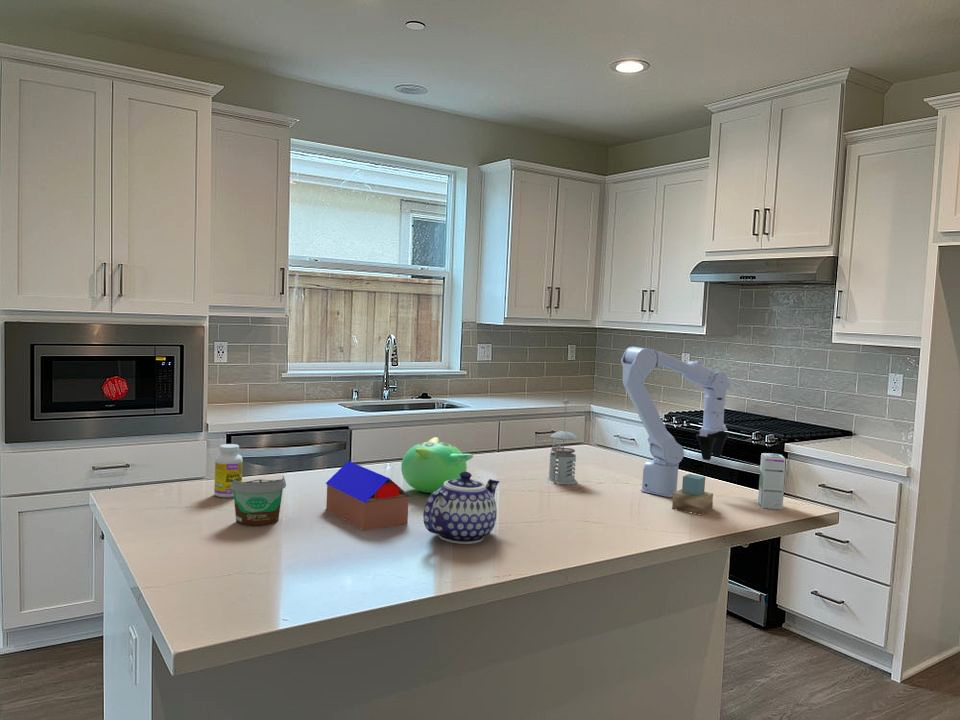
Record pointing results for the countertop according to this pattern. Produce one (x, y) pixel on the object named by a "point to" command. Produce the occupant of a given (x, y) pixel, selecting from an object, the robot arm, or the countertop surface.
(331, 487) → the house
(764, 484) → the syrup box
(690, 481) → the teal cube
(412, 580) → the countertop surface
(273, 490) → the food container
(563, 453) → the french press
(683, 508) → the slab bottom
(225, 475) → the supplement bottle
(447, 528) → the teapot
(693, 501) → the slab top
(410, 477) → the toy bird
